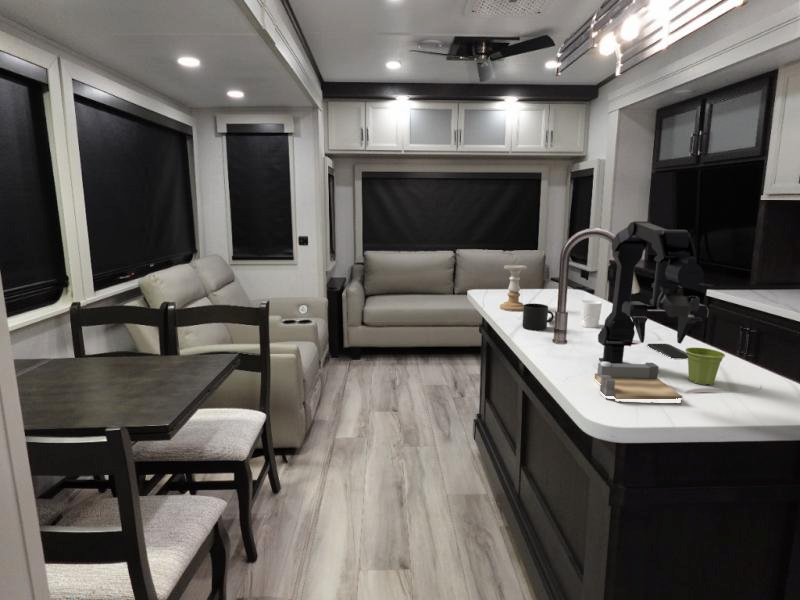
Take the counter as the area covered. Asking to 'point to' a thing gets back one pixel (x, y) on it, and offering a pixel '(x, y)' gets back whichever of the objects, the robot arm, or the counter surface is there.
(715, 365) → the plant pot
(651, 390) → the tan wooden slab
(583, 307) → the white cup
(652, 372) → the folding leg
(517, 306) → the candle holder
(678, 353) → the phone
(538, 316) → the mug
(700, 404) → the counter surface
